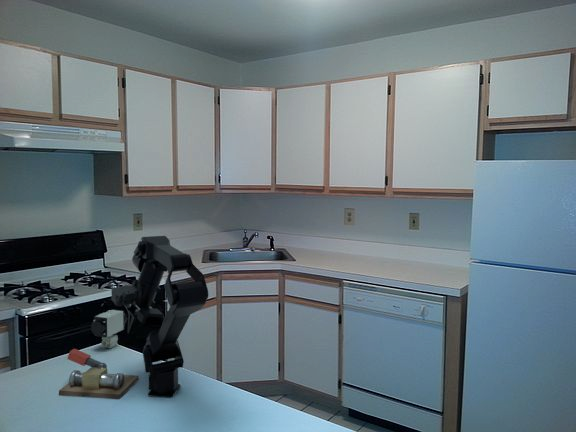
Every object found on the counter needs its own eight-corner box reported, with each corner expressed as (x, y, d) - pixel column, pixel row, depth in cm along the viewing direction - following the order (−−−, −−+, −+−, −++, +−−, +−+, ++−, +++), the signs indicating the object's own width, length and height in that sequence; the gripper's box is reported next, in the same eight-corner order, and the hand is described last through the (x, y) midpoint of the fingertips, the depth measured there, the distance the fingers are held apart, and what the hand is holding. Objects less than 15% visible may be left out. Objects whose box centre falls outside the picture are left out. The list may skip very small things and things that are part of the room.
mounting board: (138, 379, 123) (138, 375, 123) (119, 399, 112) (119, 394, 112) (83, 376, 124) (83, 372, 124) (59, 395, 113) (58, 390, 113)
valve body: (125, 385, 118) (124, 369, 118) (116, 392, 114) (116, 376, 113) (78, 382, 119) (77, 366, 119) (68, 389, 115) (68, 373, 115)
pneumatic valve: (127, 341, 152) (127, 306, 151) (103, 353, 141) (102, 316, 140) (114, 339, 154) (113, 304, 153) (88, 351, 143) (88, 314, 142)
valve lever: (109, 363, 121) (74, 348, 121) (105, 366, 118) (69, 351, 119) (106, 370, 121) (71, 355, 122) (102, 374, 119) (66, 358, 119)
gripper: (108, 263, 122) (89, 316, 123) (135, 291, 109) (113, 350, 110) (145, 269, 130) (127, 318, 131) (174, 296, 116) (153, 351, 117)
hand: (129, 333), depth 122 cm, fingers closed
